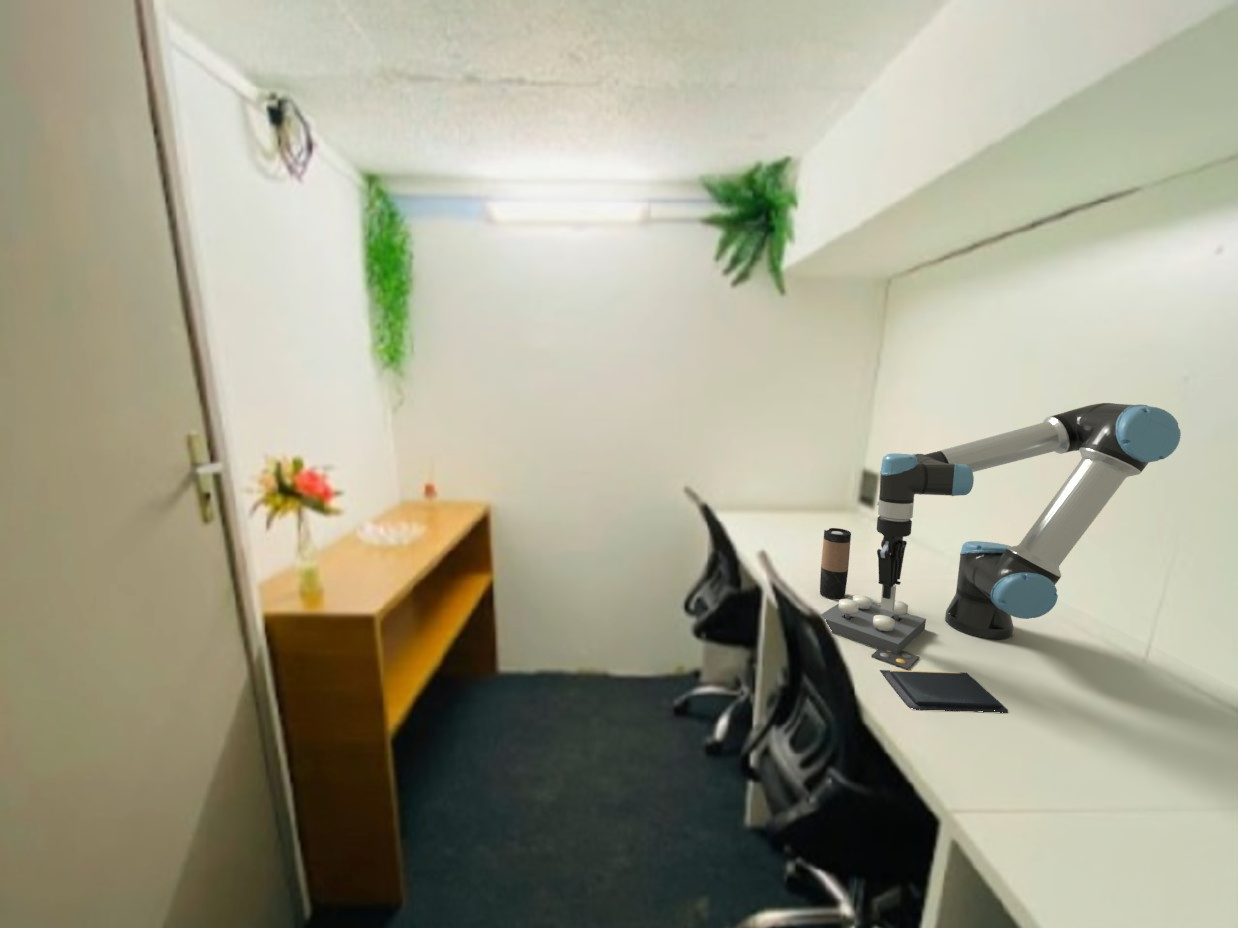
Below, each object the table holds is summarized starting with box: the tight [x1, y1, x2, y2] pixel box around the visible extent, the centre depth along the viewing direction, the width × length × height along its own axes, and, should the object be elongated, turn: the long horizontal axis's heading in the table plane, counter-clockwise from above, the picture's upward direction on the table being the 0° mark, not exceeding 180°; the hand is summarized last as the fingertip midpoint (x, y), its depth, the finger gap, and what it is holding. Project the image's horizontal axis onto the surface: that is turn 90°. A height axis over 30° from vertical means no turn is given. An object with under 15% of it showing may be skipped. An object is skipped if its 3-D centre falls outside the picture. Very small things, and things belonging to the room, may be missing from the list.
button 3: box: [852, 594, 873, 610], centre depth 149 cm, size 5×5×5 cm
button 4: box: [838, 598, 859, 620], centre depth 142 cm, size 5×5×5 cm
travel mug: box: [819, 527, 852, 601], centre depth 163 cm, size 8×8×20 cm
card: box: [871, 648, 920, 671], centre depth 128 cm, size 8×8×1 cm
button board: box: [820, 595, 927, 654], centre depth 143 cm, size 20×20×3 cm
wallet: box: [879, 669, 1009, 714], centre depth 115 cm, size 20×2×15 cm
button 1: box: [887, 599, 909, 621], centre depth 142 cm, size 5×5×5 cm
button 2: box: [873, 615, 895, 632], centre depth 136 cm, size 5×5×5 cm
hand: (887, 609), depth 135 cm, fingers closed
